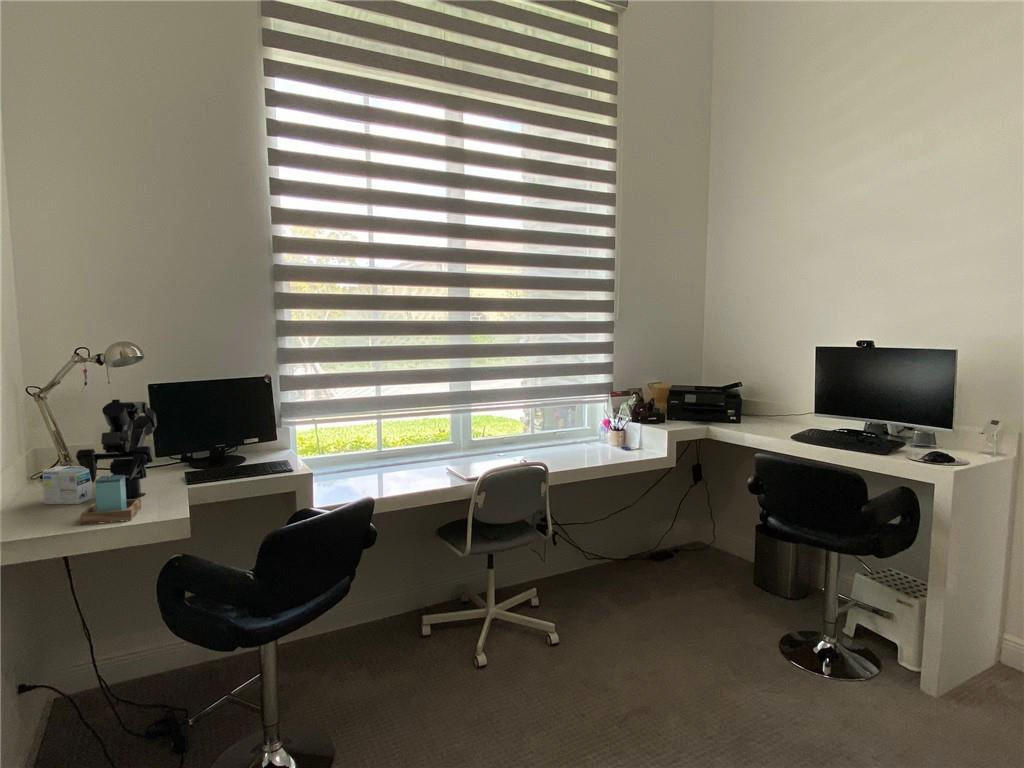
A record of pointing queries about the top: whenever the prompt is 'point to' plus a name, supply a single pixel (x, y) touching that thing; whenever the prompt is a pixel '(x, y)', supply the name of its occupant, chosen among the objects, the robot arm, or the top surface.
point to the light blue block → (111, 493)
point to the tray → (110, 513)
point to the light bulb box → (67, 485)
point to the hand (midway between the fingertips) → (111, 480)
